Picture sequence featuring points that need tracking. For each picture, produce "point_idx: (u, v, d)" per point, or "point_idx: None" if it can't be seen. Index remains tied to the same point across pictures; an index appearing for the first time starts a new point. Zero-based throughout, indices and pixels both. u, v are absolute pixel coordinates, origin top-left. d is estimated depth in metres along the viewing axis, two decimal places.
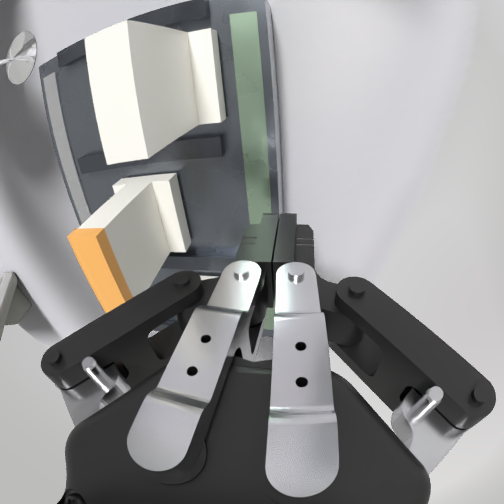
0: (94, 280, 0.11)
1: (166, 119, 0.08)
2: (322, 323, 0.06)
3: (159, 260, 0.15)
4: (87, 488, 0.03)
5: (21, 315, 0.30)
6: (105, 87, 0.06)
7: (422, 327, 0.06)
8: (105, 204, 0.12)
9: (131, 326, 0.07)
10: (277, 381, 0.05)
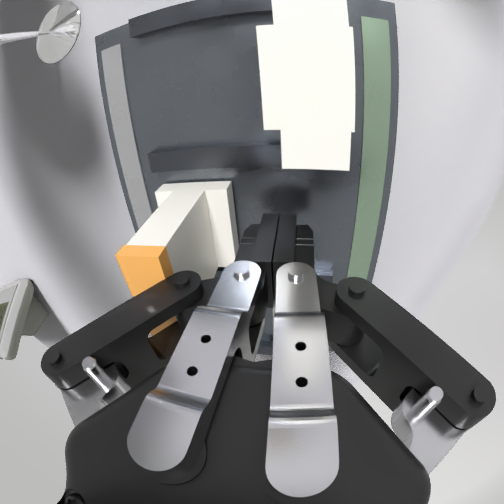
0: None
1: None
2: (322, 323, 0.06)
3: (210, 277, 0.14)
4: (87, 488, 0.03)
5: (37, 326, 0.29)
6: (303, 64, 0.05)
7: (421, 327, 0.06)
8: (154, 215, 0.11)
9: (131, 326, 0.07)
10: (277, 381, 0.05)
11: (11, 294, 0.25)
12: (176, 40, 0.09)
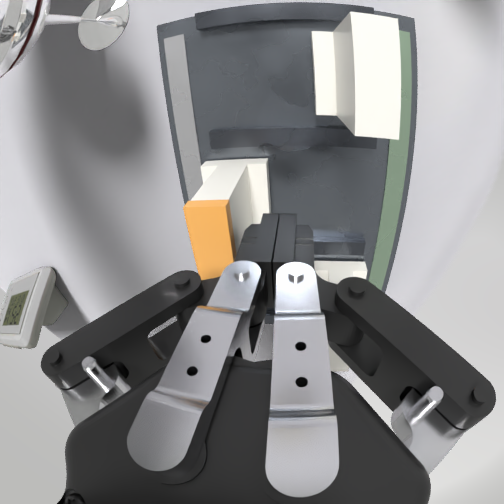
0: (203, 256, 0.12)
1: None
2: (322, 323, 0.06)
3: None
4: (87, 488, 0.03)
5: (57, 315, 0.31)
6: (371, 65, 0.07)
7: (421, 327, 0.06)
8: (208, 181, 0.13)
9: (131, 326, 0.07)
10: (277, 381, 0.05)
11: (32, 282, 0.27)
12: (238, 36, 0.11)
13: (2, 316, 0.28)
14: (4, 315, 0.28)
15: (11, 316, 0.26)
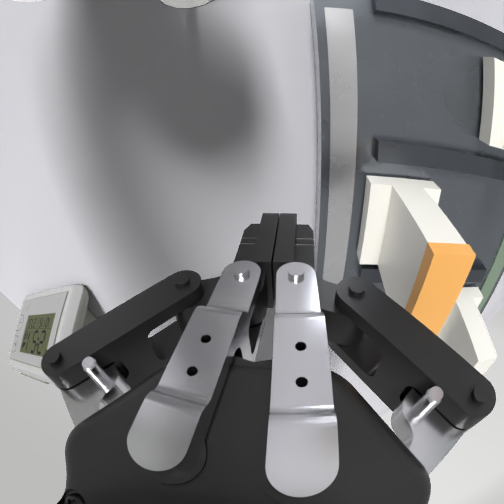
0: (423, 308, 0.08)
1: None
2: (322, 323, 0.06)
3: None
4: (87, 488, 0.03)
5: None
6: None
7: (421, 327, 0.06)
8: (412, 210, 0.09)
9: (131, 326, 0.07)
10: (277, 381, 0.05)
11: (58, 304, 0.24)
12: (416, 34, 0.08)
13: (18, 339, 0.24)
14: (21, 339, 0.24)
15: (32, 342, 0.23)
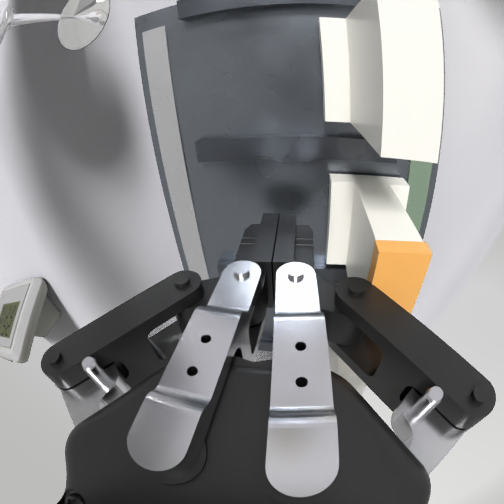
0: None
1: None
2: (322, 323, 0.06)
3: None
4: (87, 488, 0.03)
5: (50, 326, 0.29)
6: (405, 59, 0.04)
7: (421, 327, 0.06)
8: (369, 207, 0.09)
9: (131, 326, 0.07)
10: (277, 381, 0.05)
11: (23, 293, 0.25)
12: (229, 25, 0.09)
13: None
14: None
15: (3, 327, 0.24)
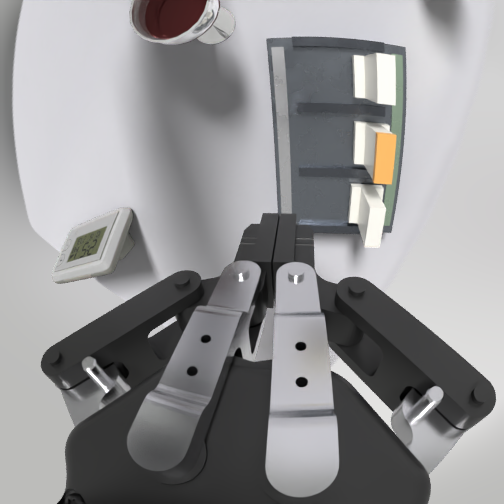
0: (380, 159, 0.21)
1: None
2: (322, 323, 0.06)
3: None
4: (87, 488, 0.03)
5: (126, 252, 0.41)
6: (384, 75, 0.17)
7: (421, 327, 0.06)
8: (372, 127, 0.22)
9: (131, 326, 0.07)
10: (277, 381, 0.05)
11: (110, 220, 0.37)
12: (314, 53, 0.22)
13: (65, 255, 0.38)
14: (68, 254, 0.38)
15: (81, 251, 0.37)
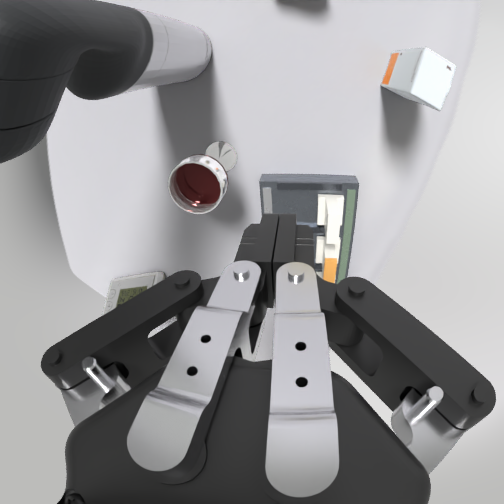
0: (326, 273, 0.39)
1: None
2: (322, 323, 0.06)
3: None
4: (87, 488, 0.03)
5: None
6: (331, 227, 0.35)
7: (421, 327, 0.06)
8: (325, 249, 0.40)
9: (131, 326, 0.07)
10: (277, 381, 0.05)
11: (149, 281, 0.55)
12: (291, 192, 0.39)
13: (112, 303, 0.55)
14: (115, 302, 0.55)
15: None
